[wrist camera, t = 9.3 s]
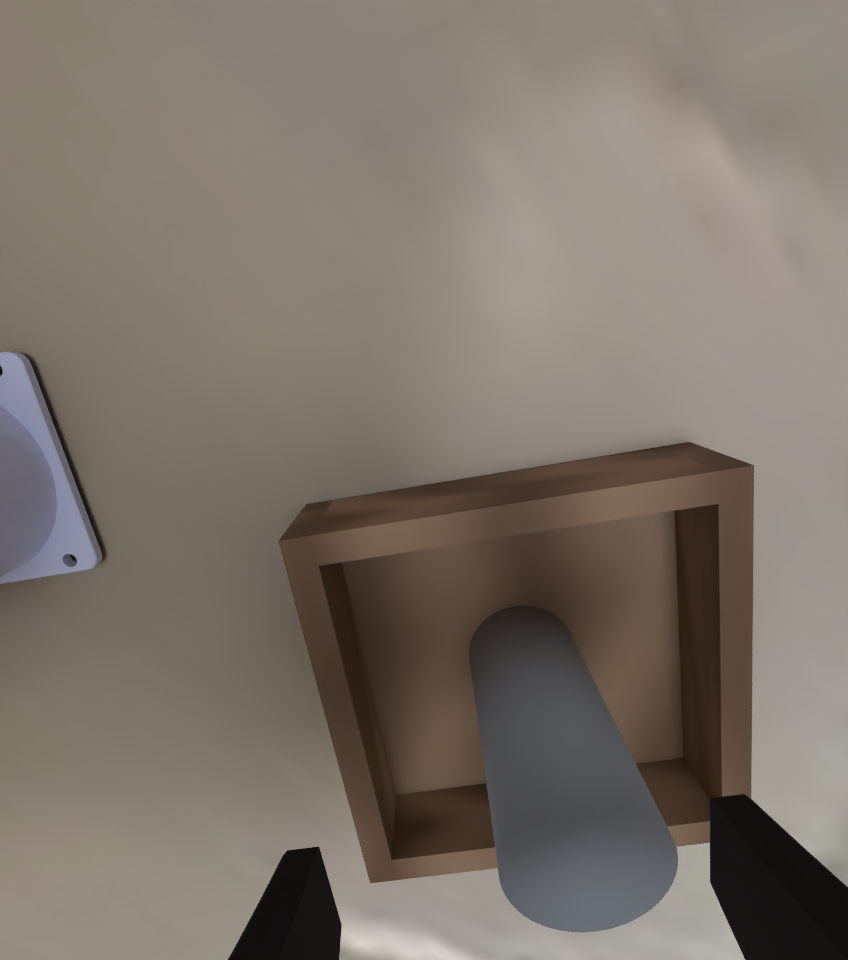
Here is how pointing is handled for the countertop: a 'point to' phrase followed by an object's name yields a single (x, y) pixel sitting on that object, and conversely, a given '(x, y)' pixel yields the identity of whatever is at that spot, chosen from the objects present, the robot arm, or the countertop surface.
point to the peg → (562, 782)
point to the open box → (544, 584)
